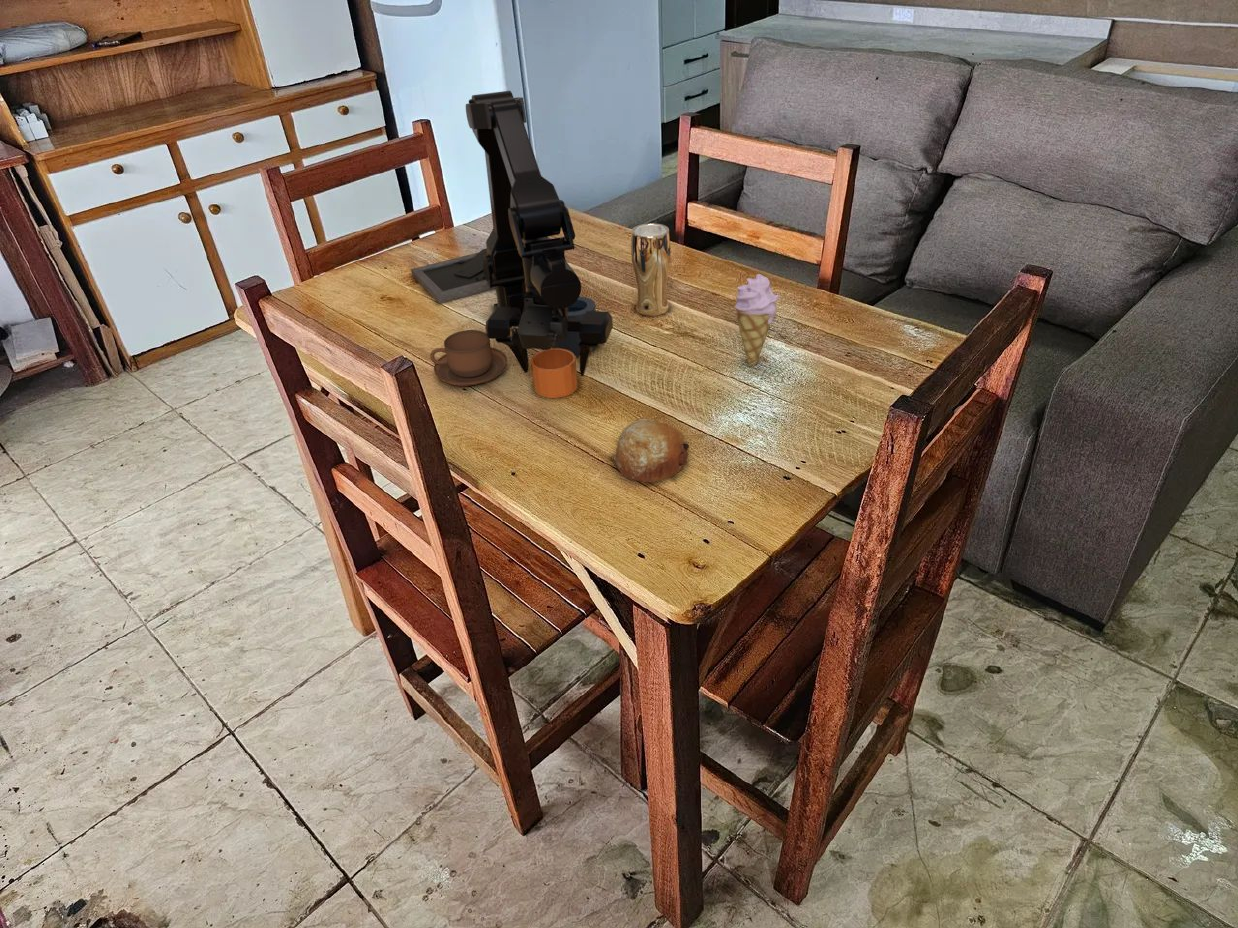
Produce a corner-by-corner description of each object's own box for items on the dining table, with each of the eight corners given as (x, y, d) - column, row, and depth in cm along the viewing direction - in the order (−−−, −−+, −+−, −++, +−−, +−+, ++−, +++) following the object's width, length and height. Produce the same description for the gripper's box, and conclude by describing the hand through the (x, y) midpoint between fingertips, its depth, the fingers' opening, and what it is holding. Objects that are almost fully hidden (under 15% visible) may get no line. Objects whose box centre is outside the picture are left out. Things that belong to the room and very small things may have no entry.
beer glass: (668, 318, 150) (666, 238, 141) (630, 316, 152) (626, 236, 143) (673, 301, 156) (672, 223, 147) (637, 299, 157) (634, 222, 148)
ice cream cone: (777, 357, 137) (784, 271, 128) (770, 375, 132) (777, 288, 123) (738, 352, 139) (741, 267, 130) (729, 370, 134) (733, 284, 125)
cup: (529, 380, 134) (526, 353, 131) (570, 372, 136) (568, 345, 133) (540, 401, 129) (536, 373, 126) (583, 392, 131) (580, 364, 128)
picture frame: (505, 252, 179) (412, 276, 171) (504, 243, 178) (410, 267, 170) (537, 277, 168) (439, 303, 160) (536, 268, 167) (437, 294, 159)
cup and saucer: (449, 400, 131) (442, 365, 127) (426, 368, 139) (419, 335, 136) (519, 379, 135) (514, 345, 131) (493, 349, 144) (488, 317, 140)
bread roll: (626, 463, 121) (599, 424, 116) (689, 433, 119) (664, 391, 114) (632, 506, 113) (604, 465, 108) (700, 474, 111) (674, 431, 106)
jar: (550, 340, 145) (546, 300, 141) (590, 332, 147) (588, 293, 143) (561, 359, 140) (557, 318, 135) (603, 350, 141) (601, 310, 137)
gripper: (466, 302, 117) (482, 396, 127) (594, 308, 114) (601, 404, 123) (490, 270, 126) (504, 360, 135) (610, 275, 123) (615, 367, 132)
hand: (554, 373), depth 131 cm, fingers open, 9 cm apart
